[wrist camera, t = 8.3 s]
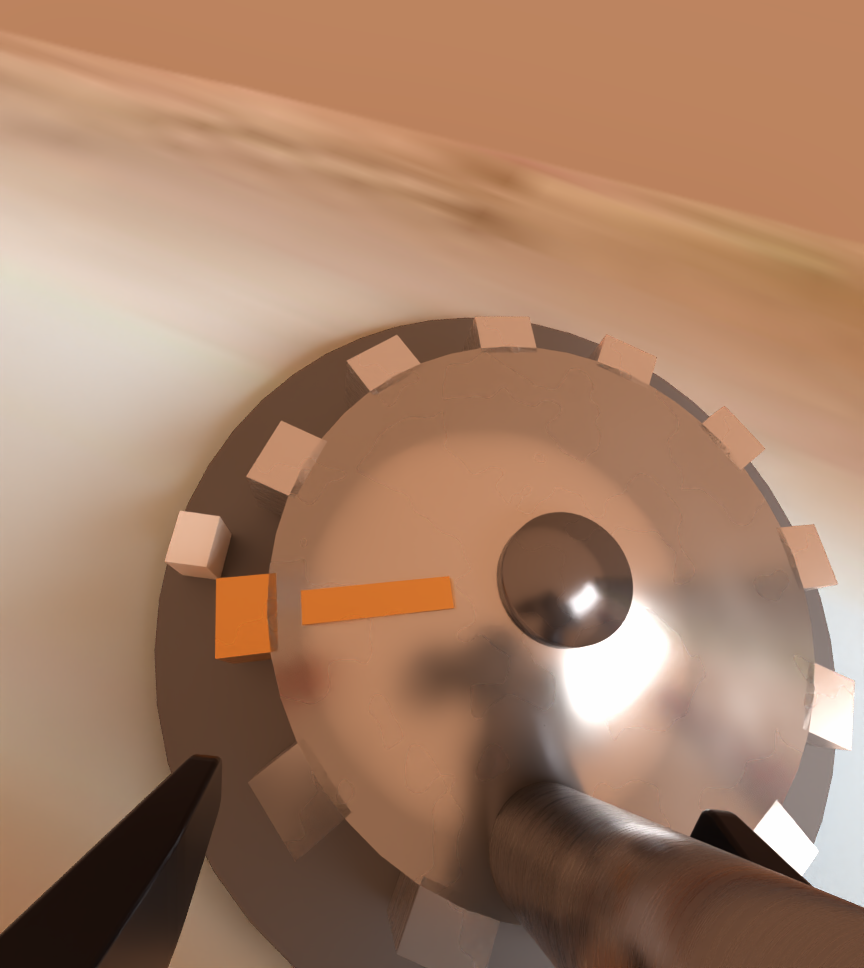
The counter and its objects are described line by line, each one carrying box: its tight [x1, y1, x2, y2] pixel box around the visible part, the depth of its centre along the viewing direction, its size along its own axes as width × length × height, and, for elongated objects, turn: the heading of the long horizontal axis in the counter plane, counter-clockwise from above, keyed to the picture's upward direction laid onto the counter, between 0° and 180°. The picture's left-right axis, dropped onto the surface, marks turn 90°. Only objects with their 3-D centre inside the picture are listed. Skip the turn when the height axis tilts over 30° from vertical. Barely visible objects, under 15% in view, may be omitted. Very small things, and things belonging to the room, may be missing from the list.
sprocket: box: [215, 317, 864, 968], centre depth 9 cm, size 15×15×10 cm
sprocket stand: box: [155, 318, 835, 968], centre depth 14 cm, size 19×19×2 cm
